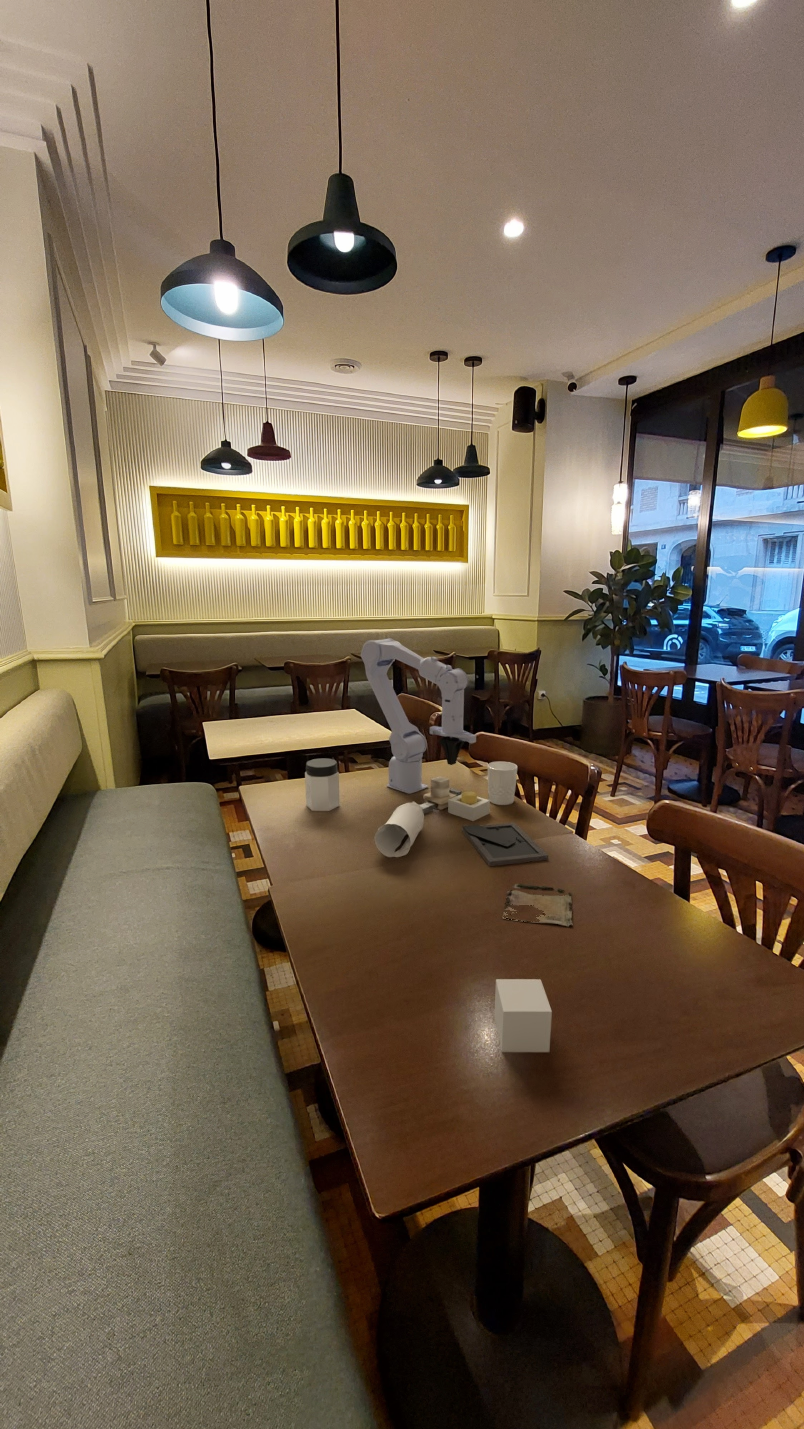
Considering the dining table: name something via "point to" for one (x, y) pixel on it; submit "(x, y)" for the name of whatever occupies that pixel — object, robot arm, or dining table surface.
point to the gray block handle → (432, 805)
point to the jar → (322, 784)
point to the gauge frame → (469, 808)
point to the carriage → (439, 792)
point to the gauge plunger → (469, 798)
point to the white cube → (522, 1015)
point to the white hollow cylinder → (400, 830)
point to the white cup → (501, 782)
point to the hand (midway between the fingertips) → (451, 763)
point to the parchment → (542, 904)
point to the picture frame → (503, 844)
